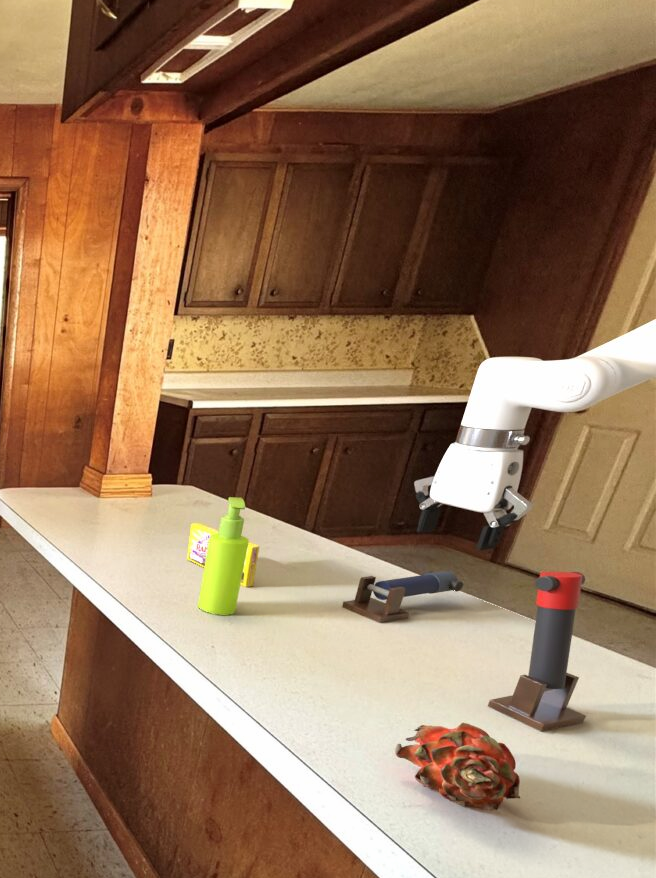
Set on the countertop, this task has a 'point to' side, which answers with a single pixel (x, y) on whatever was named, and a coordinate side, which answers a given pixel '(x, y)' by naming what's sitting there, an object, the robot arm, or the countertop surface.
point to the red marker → (554, 626)
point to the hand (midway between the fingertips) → (454, 539)
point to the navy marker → (418, 584)
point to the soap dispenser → (224, 563)
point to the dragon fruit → (463, 765)
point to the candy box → (200, 546)
